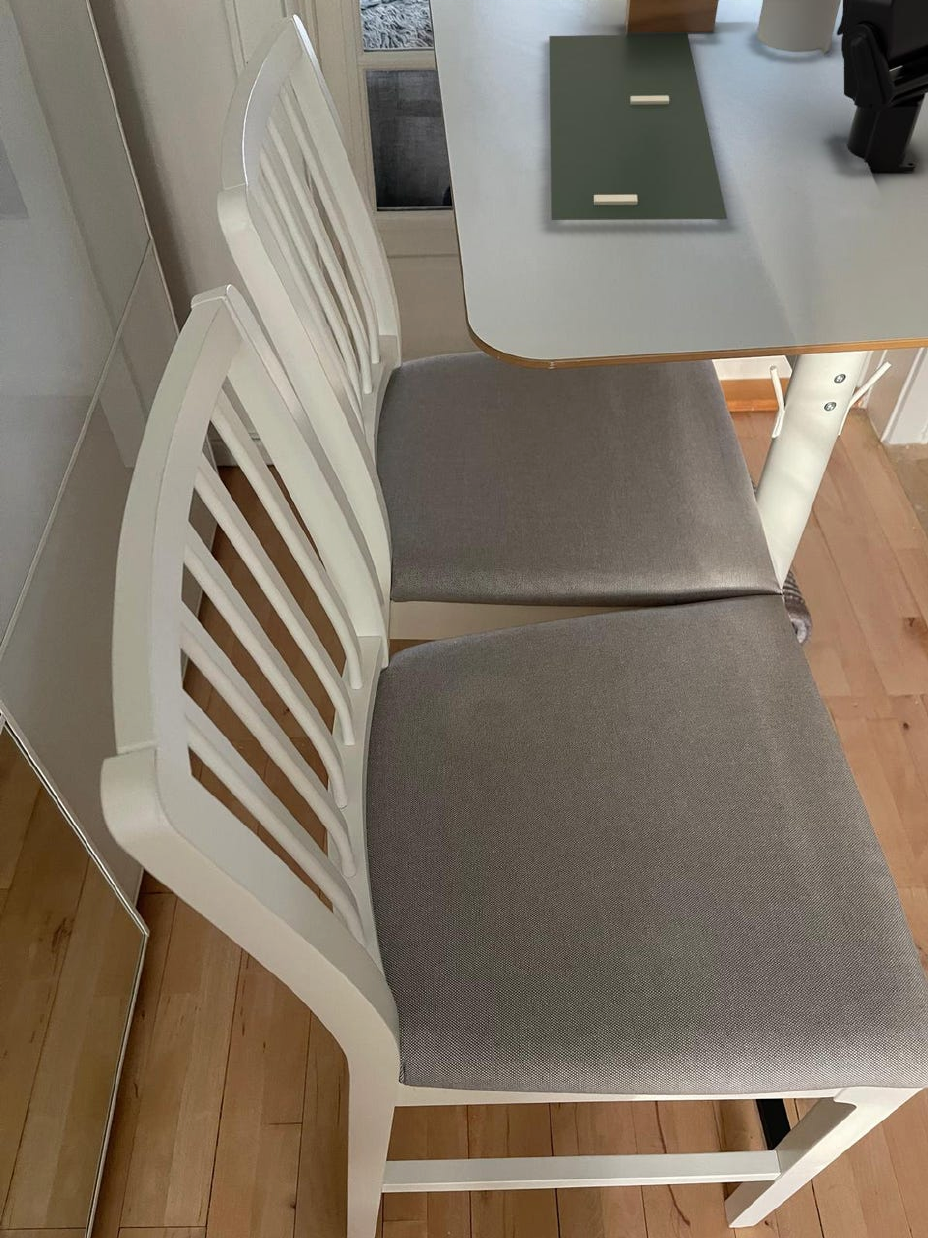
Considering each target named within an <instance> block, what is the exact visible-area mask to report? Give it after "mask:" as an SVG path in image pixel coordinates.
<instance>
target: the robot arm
mask: <svg viewBox="0 0 928 1238" xmlns="http://www.w3.org/2000/svg"><path fill="white" fill-rule="evenodd" d="M841 12H842V15H841V19H840V23H839V26H838V27H837V28H838V29H837V31H836V36H841V41H840V42H841V43H840V46H841V48H840V49H841V56H842V59H843V95H844V96H845V97H846V98H849V99H851V100H852V101H853V106H855V107H856V108H855V112H854V115H853V119H852V123H851V128H850V129H849V133H848V134H849V135H848V138H847V140H846V141H847V142H846V148H847V150H848V151H849V152H850V153H851V154H852V155H854V156H856V157H858V158H860V159H862V160H863V161H864V163H865V164H867V166H868V168H869V171H870V172H873V173H875V172H877V173H878V172H879V173H880V172H914V171H915V170H916V166H917V165H916V164H917V163H916V162H915V159H914V157H913V155H912V153H911V151H910V148H909V147H910V143H911V140H912V137H913V134H914V131H915V128H916V125H917V122H918V120H919V116H920V112H921V109H922V106H923V104H924V100H925V98H926V94H928V0H842V11H841Z"/></svg>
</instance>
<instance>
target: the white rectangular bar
mask: <svg viewBox="0 0 928 1238" xmlns="http://www.w3.org/2000/svg"><path fill="white" fill-rule="evenodd" d="M637 203H638V200H637V195H594V205H637Z"/></svg>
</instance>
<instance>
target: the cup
mask: <svg viewBox="0 0 928 1238" xmlns="http://www.w3.org/2000/svg"><path fill="white" fill-rule="evenodd" d="M841 2H842V0H762V3H761V9H760V14H759V20H758V24H757V30H756V39H758V41H759V42H761V43H762V44H763V45H764V46H767V47H770V48H772V49H775V50H779V51H785V52H793V53H798V52H799V53H801V52H812V51H816V50H821V52H822V55H825V54H826V53H828V52H829V50H830V48H831V47H830V46H831V43H832V39H833V35H834V30H835V28H836V22H837V18H838V14H839V9H840V5H841Z"/></svg>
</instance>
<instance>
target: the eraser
mask: <svg viewBox="0 0 928 1238" xmlns="http://www.w3.org/2000/svg"><path fill="white" fill-rule="evenodd" d="M718 8H719V0H626V5H625V17H624V25H625V31H626V32H625V33H626V35H644V34H687V35H709V34H710V35H713V34H714V32H715V26H716V21H717V15H718V13H717V12H718Z"/></svg>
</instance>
